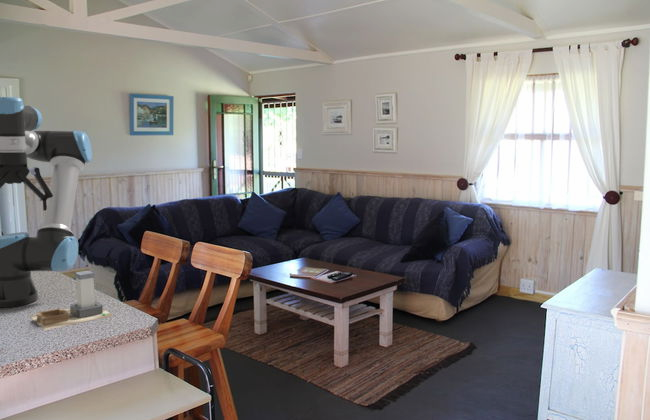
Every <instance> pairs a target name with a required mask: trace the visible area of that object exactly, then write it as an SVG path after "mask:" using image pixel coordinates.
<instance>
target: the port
mask: <svg viewBox="0 0 650 420" xmlns="http://www.w3.org/2000/svg"><path fill="white" fill-rule="evenodd" d="M69 309H70V313H71V314H72V315H73V316H75V317H76V318H78V317H79V318H84V317H89V316H94V315H99V314H102V313H103V309H104V308H103V304H102V303H100V302H98V301H97V300H95V306H94V307H89V308H84V309H79V308H78V307H77V302H75V303H71V304H70V305H69ZM103 315H106V313H103Z"/></svg>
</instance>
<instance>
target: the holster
mask: <svg viewBox="0 0 650 420" xmlns="http://www.w3.org/2000/svg"><path fill="white" fill-rule="evenodd" d="M36 315H37V320H38V321H39V322H40V323H41V324H42V325H49V324H54V323H59V322H63V321H68V319H69V317H68V312H66V311H65V310H64V309H63V308H55V309H49V310H44V311H39V312H37V313H36Z"/></svg>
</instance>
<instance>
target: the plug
mask: <svg viewBox="0 0 650 420" xmlns="http://www.w3.org/2000/svg"><path fill="white" fill-rule="evenodd" d="M74 275H75V277H74V278H75V284H76V285H75V288H76V289H75V291H76V303H77V307H78V308H79V309H84V308H89V307H94V306H95V301H96V300H95V299H96V298H95V282H94V281H95V279H94V278H95V273H94V272H92V271H91V270H82V271H76V272H74Z"/></svg>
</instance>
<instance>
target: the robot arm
mask: <svg viewBox="0 0 650 420" xmlns="http://www.w3.org/2000/svg"><path fill="white" fill-rule="evenodd" d="M42 122H43V116H42V114H41V112H40V111H39V110H38V109H37V108H36V107H33V106H30V105H24V101H23V99H22V98H21V97H18V96H17V97H15V96H14V97H13V96H12V97H11V96H0V189H1V188H2V187H3V186H4V185H5V184H8V185H14V184H17V185H18V184H19V185H20V184H22V183H23V184H25V186H26V187H28V188H29V189H30V190H31V192H33V193H34V194H35V195H36V196H37V197H38V198H39V199H37V214H38V215H37V217H38V222H40V223H43V226H42V227H40V228H38V229H37V233H36V236H31V237H30V235H29V233H28V232H26V231H25V232H24V231H22V232H15V233H14V232H12V233H8V234H3V235H0V308H13V307H20V306H25V305H29V304H32V303H34V302H36V301H37V300H39V293H38V290H37V287H36V285H35V283H34V281H33V279H32V272H61V271H62V272H63V271H69V270H70V269H72V268H73V267H74V265H75V263H76V261H77V259H78V256H79V255H78V254H79V242H78V241H79V240H78V239H77V238H76V237H75V234H74V232H73V231H72V229H71V227H72V220H73V213H74V207H75V201H76V200H75V199H76V193H77V188H78V181H79V174H80V172H81V171H83V170H84V169H85V165H86V164H88V163H91V161H92V158H93V154H92V152H93V151H92V145H91V141H90V138H89V136H88V134H87V133H86V132H84V131H78V130H71V131H69V130H37V129H38V128H39V127H41V125H42ZM27 158H29V159H31V160H34V161H36V162H37V161H38V162H41V163H42V162H43V163H50V166H51V167H53V169H52V176H51V179H50V185H49V186H48V184H47V183H46V181H45V180H44V178H43V177H42V175H41V171H40V168H39V167H36V166H34V167H32V168H29V167H28V159H27ZM30 173H31V174H30ZM29 174H30V175H32V176H34V178H35V180H36V182H37V183H38V185H39V186H40V188H41V190H42V191H43V192H42V191H41V190H40V189H38V187H36V185H34V184H33V183H32V182H31V180H30V179H29V178H28V175H29ZM44 211H45V213H44ZM44 214H45V215H44Z"/></svg>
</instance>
